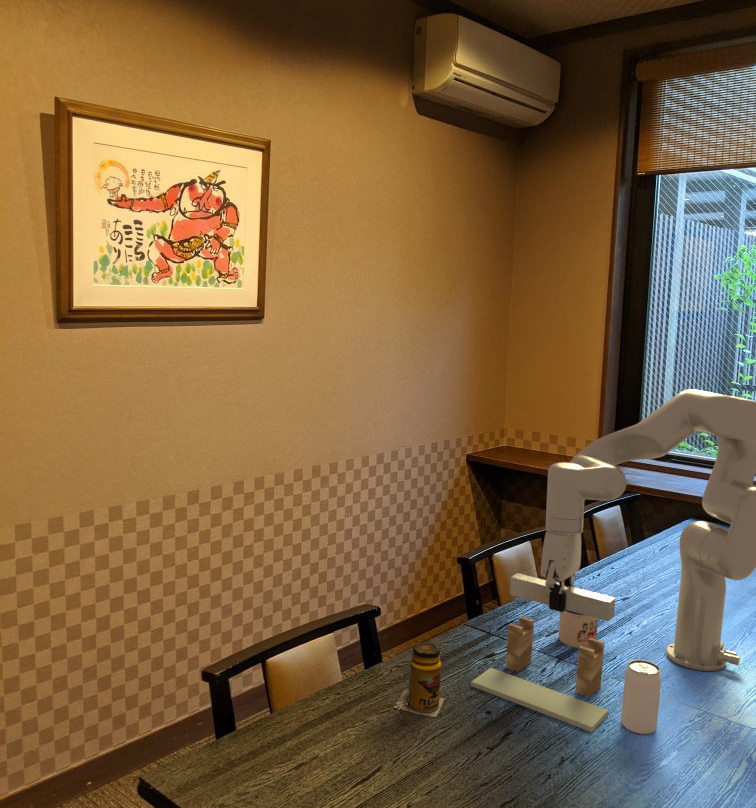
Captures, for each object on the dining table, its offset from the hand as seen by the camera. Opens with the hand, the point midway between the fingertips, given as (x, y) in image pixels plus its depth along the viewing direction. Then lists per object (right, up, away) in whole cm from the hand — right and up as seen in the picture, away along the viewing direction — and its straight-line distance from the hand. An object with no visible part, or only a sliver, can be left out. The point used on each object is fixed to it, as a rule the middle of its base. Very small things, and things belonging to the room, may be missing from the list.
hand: (560, 606), depth 167 cm
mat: (-6, -17, -8) cm, 20 cm away
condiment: (-30, -17, -11) cm, 36 cm away
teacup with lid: (+10, -13, +21) cm, 27 cm away
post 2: (+5, -16, -3) cm, 17 cm away
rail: (0, 0, 0) cm, 0 cm away
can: (+11, -19, -16) cm, 27 cm away
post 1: (-8, -15, +7) cm, 18 cm away
